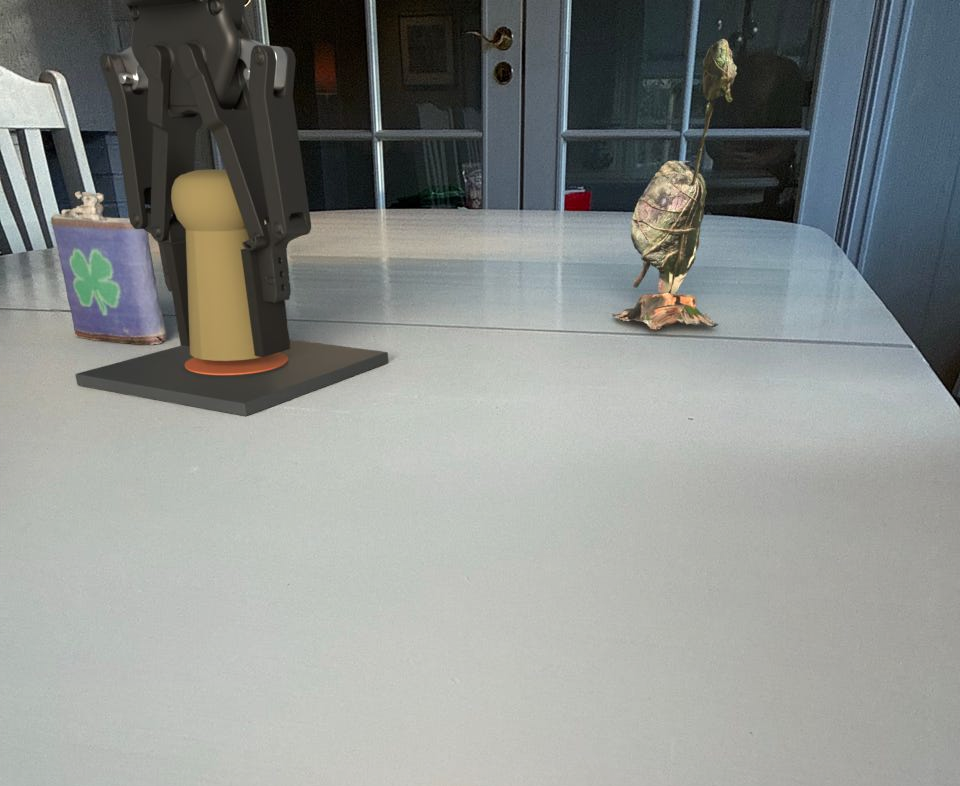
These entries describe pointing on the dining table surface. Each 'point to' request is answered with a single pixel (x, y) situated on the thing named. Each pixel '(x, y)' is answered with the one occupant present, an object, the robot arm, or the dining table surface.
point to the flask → (108, 275)
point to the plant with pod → (676, 216)
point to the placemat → (233, 376)
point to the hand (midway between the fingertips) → (234, 346)
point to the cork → (214, 266)
